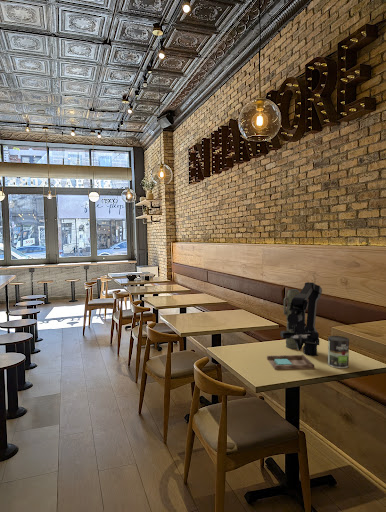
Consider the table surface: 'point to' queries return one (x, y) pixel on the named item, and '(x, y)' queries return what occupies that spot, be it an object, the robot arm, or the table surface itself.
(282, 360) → the cover plate
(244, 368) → the table surface
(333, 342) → the coffee can
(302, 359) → the brown flat tray
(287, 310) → the thermos
